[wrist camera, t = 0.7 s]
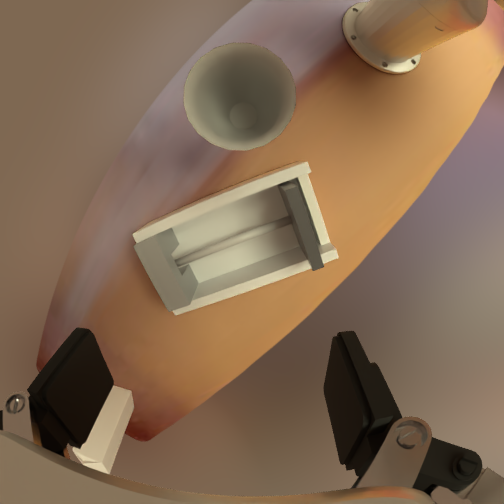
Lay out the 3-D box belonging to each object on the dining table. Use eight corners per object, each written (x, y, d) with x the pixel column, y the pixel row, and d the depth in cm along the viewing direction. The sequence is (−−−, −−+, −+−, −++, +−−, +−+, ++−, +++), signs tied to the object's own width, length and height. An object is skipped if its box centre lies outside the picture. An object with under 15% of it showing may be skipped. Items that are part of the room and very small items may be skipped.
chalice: (276, 152, 32) (303, 144, 15) (222, 159, 32) (190, 159, 15) (269, 97, 30) (286, 38, 13) (214, 104, 30) (178, 52, 13)
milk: (131, 390, 46) (97, 476, 25) (134, 406, 48) (105, 487, 27) (105, 382, 46) (65, 462, 25) (110, 399, 48) (76, 475, 27)
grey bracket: (297, 161, 33) (309, 161, 26) (325, 242, 36) (341, 261, 29) (149, 222, 35) (128, 236, 28) (185, 293, 38) (173, 319, 32)
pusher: (285, 179, 32) (297, 186, 24) (307, 241, 35) (324, 266, 26) (160, 230, 34) (134, 252, 26) (187, 285, 37) (171, 319, 29)
